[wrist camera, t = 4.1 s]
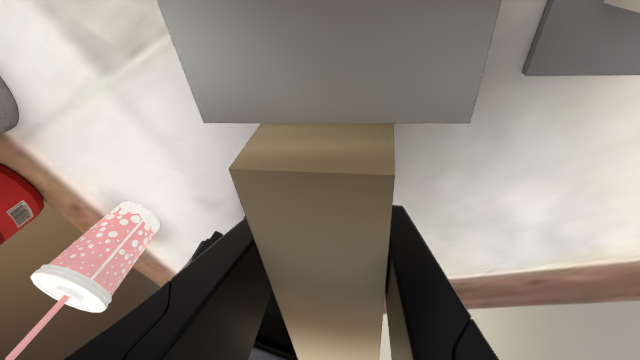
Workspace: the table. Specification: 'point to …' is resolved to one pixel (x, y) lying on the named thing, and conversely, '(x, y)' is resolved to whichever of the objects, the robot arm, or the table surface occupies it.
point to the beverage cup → (95, 263)
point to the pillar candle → (7, 109)
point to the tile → (625, 4)
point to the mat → (585, 40)
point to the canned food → (16, 203)
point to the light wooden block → (328, 135)
